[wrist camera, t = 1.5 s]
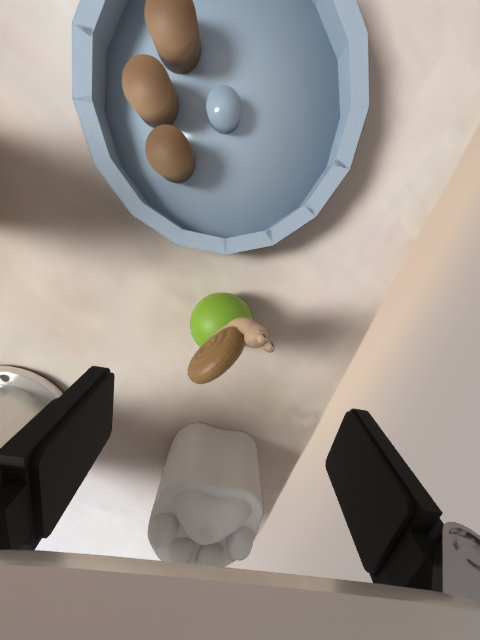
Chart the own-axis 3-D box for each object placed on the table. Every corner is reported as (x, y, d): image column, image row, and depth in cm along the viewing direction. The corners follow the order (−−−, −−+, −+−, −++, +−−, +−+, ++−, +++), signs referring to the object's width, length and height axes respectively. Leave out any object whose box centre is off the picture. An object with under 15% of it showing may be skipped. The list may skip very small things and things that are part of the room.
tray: (308, 269, 23) (317, 274, 21) (92, 224, 21) (73, 223, 19) (388, -10, 17) (417, -53, 15) (98, -106, 15) (70, -176, 13)
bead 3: (192, 187, 20) (187, 181, 18) (153, 178, 20) (143, 171, 17) (198, 143, 19) (193, 130, 17) (157, 133, 19) (146, 119, 16)
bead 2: (175, 133, 19) (167, 119, 16) (134, 123, 18) (120, 107, 16) (181, 84, 18) (173, 61, 15) (137, 72, 17) (123, 47, 15)
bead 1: (197, 79, 18) (192, 56, 15) (154, 67, 17) (142, 42, 15) (204, 24, 17) (200, -10, 14) (158, 10, 16) (146, -27, 14)
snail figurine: (270, 309, 24) (303, 376, 13) (221, 350, 26) (214, 443, 14) (232, 267, 23) (233, 302, 12) (183, 312, 24) (140, 383, 13)
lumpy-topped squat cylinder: (265, 436, 30) (278, 514, 21) (234, 511, 34) (235, 601, 25) (177, 417, 28) (156, 492, 20) (156, 497, 32) (130, 587, 24)
